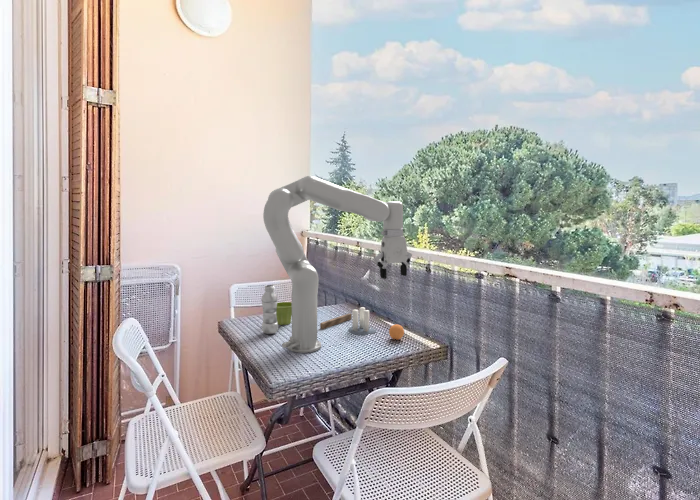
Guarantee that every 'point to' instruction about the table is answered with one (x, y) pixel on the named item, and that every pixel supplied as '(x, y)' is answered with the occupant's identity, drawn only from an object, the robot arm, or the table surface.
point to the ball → (396, 331)
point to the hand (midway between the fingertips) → (393, 276)
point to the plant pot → (284, 313)
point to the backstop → (335, 321)
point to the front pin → (366, 321)
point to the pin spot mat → (361, 332)
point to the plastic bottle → (269, 310)
